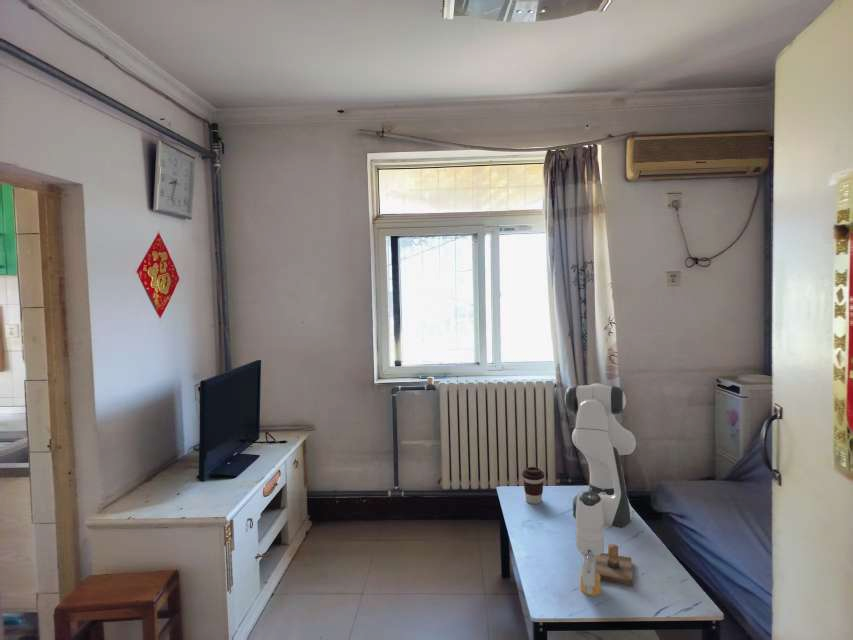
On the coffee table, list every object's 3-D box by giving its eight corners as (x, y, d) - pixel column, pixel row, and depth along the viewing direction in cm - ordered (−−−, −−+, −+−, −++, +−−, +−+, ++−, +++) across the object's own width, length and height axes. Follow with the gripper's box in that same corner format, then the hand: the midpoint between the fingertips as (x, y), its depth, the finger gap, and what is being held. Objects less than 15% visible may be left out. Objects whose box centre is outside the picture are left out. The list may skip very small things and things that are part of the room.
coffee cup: (540, 507, 216) (539, 475, 215) (519, 502, 221) (519, 471, 220) (547, 498, 224) (547, 467, 223) (527, 494, 230) (526, 464, 228)
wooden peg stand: (595, 557, 176) (595, 533, 175) (631, 562, 172) (631, 538, 171) (594, 579, 163) (594, 554, 162) (632, 586, 159) (632, 560, 158)
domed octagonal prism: (581, 581, 162) (581, 567, 161) (600, 585, 160) (600, 571, 159) (580, 593, 156) (579, 578, 156) (600, 597, 154) (600, 582, 153)
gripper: (599, 562, 146) (599, 605, 147) (600, 529, 165) (601, 567, 166) (577, 558, 148) (578, 600, 149) (581, 526, 167) (582, 564, 168)
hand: (590, 583), depth 158 cm, fingers open, 8 cm apart
